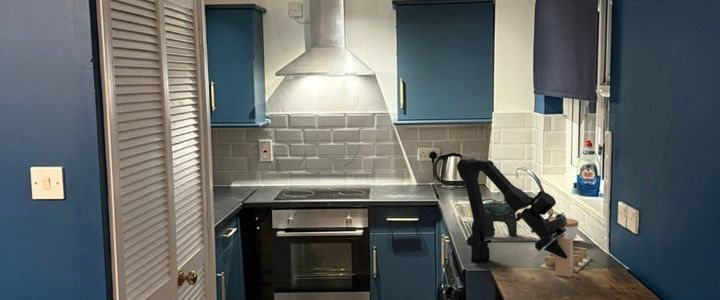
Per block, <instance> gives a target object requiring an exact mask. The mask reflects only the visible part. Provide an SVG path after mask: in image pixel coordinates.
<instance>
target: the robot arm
mask: <svg viewBox="0 0 720 300" xmlns="http://www.w3.org/2000/svg"><path fill="white" fill-rule="evenodd" d="M456 170H457V172H458V176H459V178H461V180H462V181H463V182H464V185H465V188H466V192H467V198H468V201H469V206H470V210H471V214H472V225H471V235H469V237H468V238H467V239H466V243H467V246H470V262H472V263H489V262H490V261H489V260H490V258H491V257H490V255H491V254H490V248H489V244H491V243H492V239H494V237H495V236H496V234H495V233H496V228H495V226H494V225H495V224H494V223H495V222H493V220H491V221H489V220H488V218H487V217H486V214H485V209H484V205H483V204H484V201H482V200H483V197H482V192H481V189H480V184H479V177H480V174H481V173H480V172H483V174H484V175H485V176H486V177H487V178H488V179H489V180H490V182H492V183H493V185H494V186H495V187H496V188H497V189H498V191H499V192H500V191H501V192H500V193H501V194H502V195H503V198H504V199H505V201H506V203H507V204H508V206H509V207H510V208H511V209H512V210H518V211H519V210H520V211H521V210H522V211H521V212H516V213H515V214H516V221H517V222H519V221H521V220H523V222H524V223H525V224H526V225H527V226H528V227H529V228H530V229H531V231H530V232H531V233H532V234H534V233H535V235H536V236H537V237H538V238H539V240H537V241H536V242H535V243H534V245H535V246H534V248H535V249H536V250H537V251H538V252H541V251H542V250H543V251H545V252H548V253H553V254H555V255H557V256H560V257H562V258H564V259H566V258H567V255H566V254H565V252H564V251H563V250H562V248H561V247H560V245H559V244H558V238H557V237H558V236H559V237H564V234H563V233H564V232H565V231H566V229H565V228H564V226H565V225H566V224H567V221H566V219H567V217H565V215H562V214H561V213H559V214H556V215H555V219H554V220H551V221H549V218H544V217H543V216H544V215H546V214H547V213H548V212H549V211H550V210H551V209H553V207H555V206H556V204H557V202H556V199H555V197H554V196H552V195H551V194H550V193H549V192H548V193H547V192H546V191H544V190H540V191H539V192H538V193H537V194H536V195H535V196H534V197H532V196H529V195H528V194H527V193H526V192H525V191H524V190H522V189H520V188H519V187H516V186H515V185H514V184H513V183H512V182H511V181H510V180H509V179H508V178H507V177H506V176H505V175H504V174H503V172H501V171H500V169H499V168H498V167H497V166H496V165H495V163H494V162H493V161H492V160H489V159H487V160H481V159H480V160H477V159H475V158H473V157H470V158H463V159H460V160H458V162H457V164H456ZM555 238H556V239H555Z"/></svg>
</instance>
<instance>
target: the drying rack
mask: <svg viewBox="0 0 720 300" xmlns="http://www.w3.org/2000/svg"><path fill="white" fill-rule="evenodd" d="M592 258H593V257H591V256H588V248H587V247H585V248H584V247H578V246H573V273H576V272H577V273H578V272H579V271H580V270H581V269H582V268H584V267H585V266H586V265H587V264H588V263H589V262H590V261H591V260H592ZM539 268H540V269H545V270H546V269H547V270H554V271H555V254H553V253H551V252H549V255H547V256H544V263H542V264H541V265H540V266H539Z"/></svg>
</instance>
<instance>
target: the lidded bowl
mask: <svg viewBox="0 0 720 300" xmlns="http://www.w3.org/2000/svg"><path fill="white" fill-rule="evenodd" d="M566 218H567V217H566ZM554 219H555V218H554V217H553V218H548V220H549V221H551V220H554ZM566 221H567V224H566V225H565V226H564V228H565V229H566V231H565V232H564V233H563V234H564V237H569V238H573V241H574V240H575V239H576V238H577V235H578V231H579V221H578V220H576V219H573V218H567V219H566Z"/></svg>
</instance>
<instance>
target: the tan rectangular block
mask: <svg viewBox="0 0 720 300" xmlns="http://www.w3.org/2000/svg"><path fill="white" fill-rule="evenodd" d="M557 238H558V244H559V245H560V247H561V248H562V250H563V251H564V252H565V254H566V255H567V258H566V259H564V258H562V257H560V256H557V255H555V270H554V271H555V274H554V275H555V276H559V277H567V278H571V277H572V276H573V274H574V272H573V247H574V240H573V238H569V237H559V236H558V237H557ZM555 239H556V238H555Z"/></svg>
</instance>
